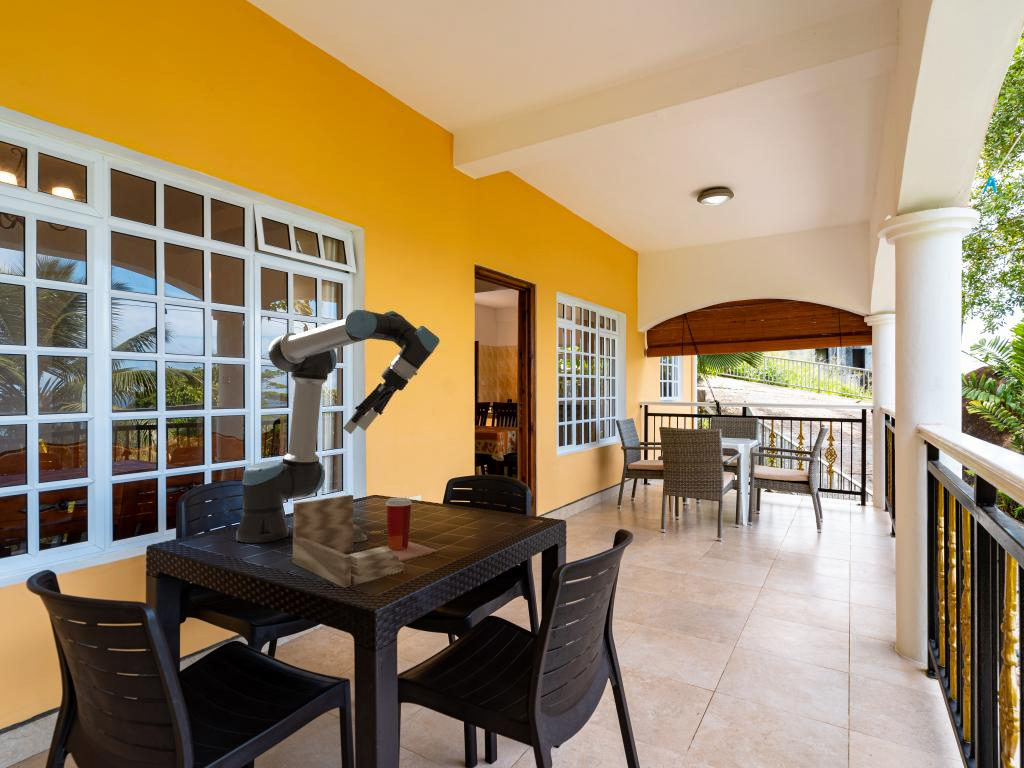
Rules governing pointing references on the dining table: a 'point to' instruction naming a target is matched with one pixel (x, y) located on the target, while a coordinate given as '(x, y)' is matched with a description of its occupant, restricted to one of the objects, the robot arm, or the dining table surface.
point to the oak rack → (324, 537)
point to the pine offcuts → (373, 564)
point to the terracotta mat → (412, 551)
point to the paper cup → (398, 522)
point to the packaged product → (358, 534)
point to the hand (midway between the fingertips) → (354, 429)
